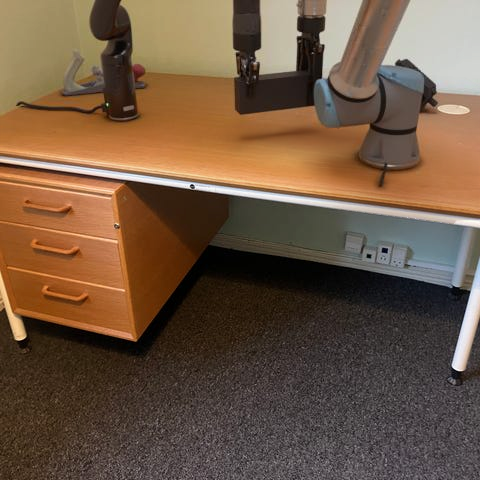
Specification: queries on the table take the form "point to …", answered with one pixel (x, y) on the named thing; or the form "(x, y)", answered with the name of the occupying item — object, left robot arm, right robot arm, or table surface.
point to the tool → (428, 84)
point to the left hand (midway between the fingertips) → (247, 94)
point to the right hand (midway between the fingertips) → (307, 101)
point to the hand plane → (95, 85)
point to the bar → (272, 92)
